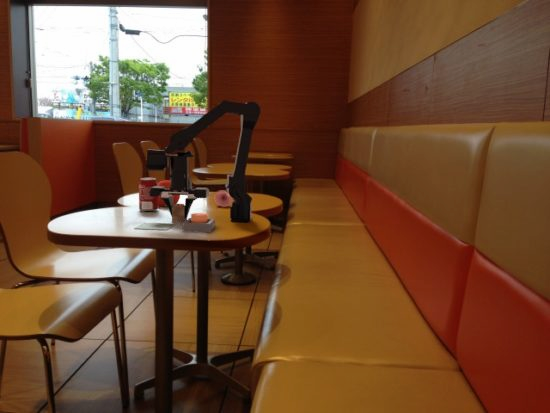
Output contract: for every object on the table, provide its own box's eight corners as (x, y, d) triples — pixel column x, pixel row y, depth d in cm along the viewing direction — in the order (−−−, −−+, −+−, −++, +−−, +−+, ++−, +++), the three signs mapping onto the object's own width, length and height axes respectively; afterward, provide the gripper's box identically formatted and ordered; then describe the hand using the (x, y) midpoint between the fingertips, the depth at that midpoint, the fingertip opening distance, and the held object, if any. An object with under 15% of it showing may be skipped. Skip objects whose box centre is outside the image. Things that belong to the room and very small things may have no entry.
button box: (214, 226, 142) (214, 218, 142) (209, 232, 134) (209, 223, 134) (189, 225, 143) (189, 218, 142) (183, 231, 135) (183, 222, 134)
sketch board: (175, 224, 144) (175, 223, 144) (167, 230, 136) (167, 229, 136) (144, 223, 145) (144, 222, 145) (134, 228, 136) (134, 228, 136)
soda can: (153, 212, 163) (152, 179, 162) (135, 211, 165) (135, 178, 163) (161, 209, 170) (160, 178, 168) (144, 208, 171) (144, 177, 169)
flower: (216, 190, 186) (218, 184, 181) (233, 198, 187) (237, 192, 182) (208, 205, 182) (211, 199, 177) (227, 213, 183) (230, 208, 178)
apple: (176, 208, 175) (176, 181, 173) (150, 207, 175) (149, 180, 173) (182, 203, 185) (182, 178, 183) (157, 203, 185) (157, 177, 183)
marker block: (187, 220, 152) (187, 203, 151) (184, 222, 148) (184, 205, 147) (175, 219, 152) (175, 203, 151) (172, 222, 148) (171, 205, 147)
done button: (209, 222, 141) (209, 213, 140) (205, 226, 136) (205, 216, 135) (193, 222, 141) (193, 212, 140) (189, 225, 136) (189, 215, 136)
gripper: (212, 169, 155) (212, 214, 157) (158, 168, 156) (159, 212, 158) (205, 172, 144) (205, 220, 146) (147, 170, 145) (148, 218, 147)
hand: (179, 218), depth 150 cm, fingers closed on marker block, 4 cm apart
